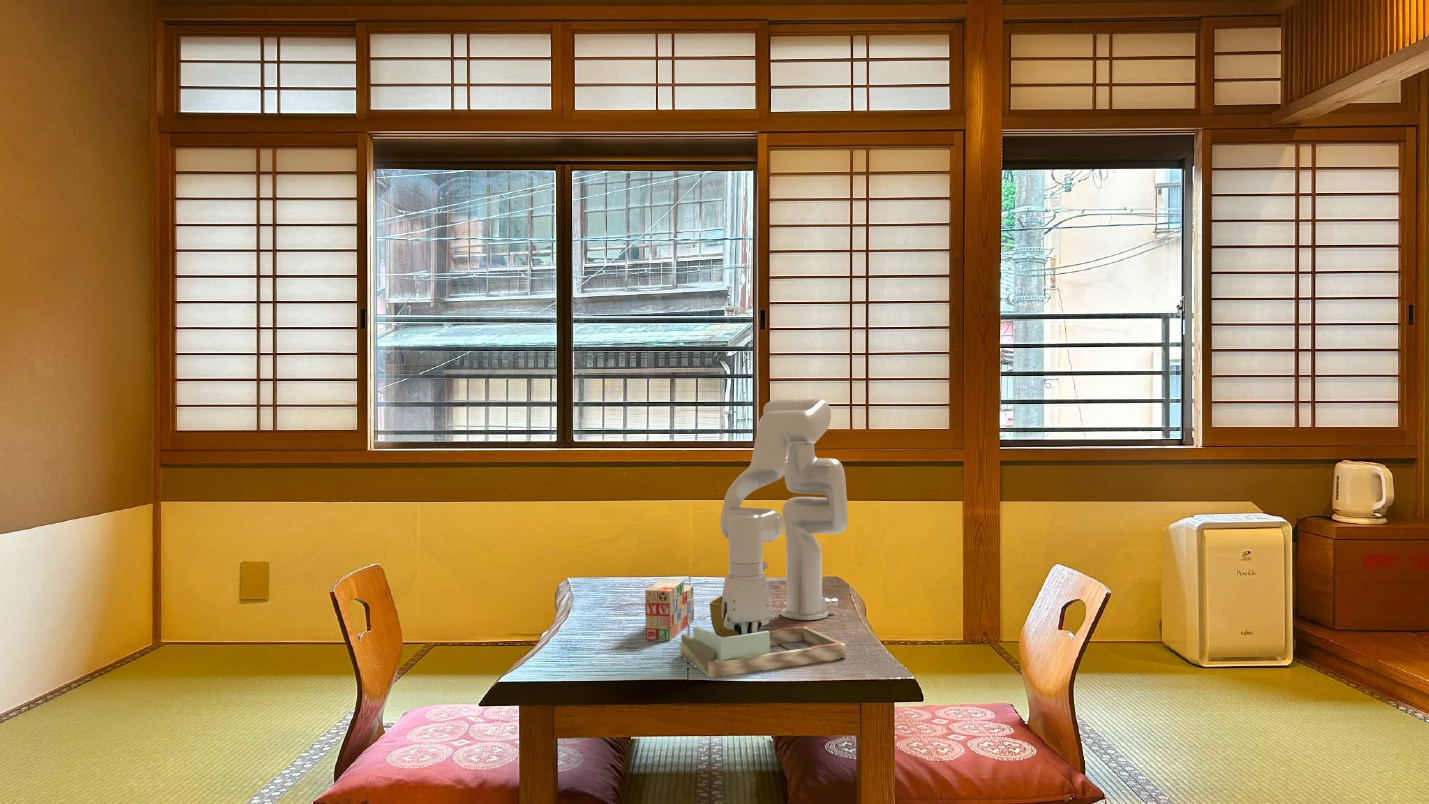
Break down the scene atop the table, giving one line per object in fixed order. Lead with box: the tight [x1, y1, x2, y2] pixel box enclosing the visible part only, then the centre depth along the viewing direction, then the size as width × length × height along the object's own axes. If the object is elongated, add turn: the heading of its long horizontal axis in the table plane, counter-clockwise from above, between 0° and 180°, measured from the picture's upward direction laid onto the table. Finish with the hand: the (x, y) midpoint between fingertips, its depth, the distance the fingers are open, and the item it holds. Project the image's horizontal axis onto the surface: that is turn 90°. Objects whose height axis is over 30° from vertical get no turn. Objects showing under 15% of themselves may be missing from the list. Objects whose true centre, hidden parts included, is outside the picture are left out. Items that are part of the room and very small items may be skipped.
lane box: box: [679, 626, 847, 678], centre depth 183 cm, size 32×17×5 cm, turn 114°
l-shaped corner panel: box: [692, 626, 771, 660], centre depth 178 cm, size 12×12×8 cm
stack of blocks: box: [644, 579, 695, 642], centre depth 208 cm, size 21×6×12 cm, turn 166°
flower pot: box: [709, 595, 747, 637], centre depth 200 cm, size 9×9×9 cm
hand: (747, 652), depth 182 cm, fingers closed
